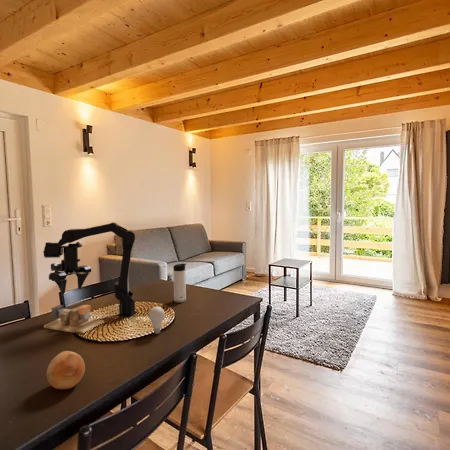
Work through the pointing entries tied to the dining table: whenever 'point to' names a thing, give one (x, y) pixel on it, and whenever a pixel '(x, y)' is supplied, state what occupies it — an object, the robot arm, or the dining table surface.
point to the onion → (65, 370)
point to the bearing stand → (73, 322)
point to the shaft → (60, 309)
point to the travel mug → (179, 283)
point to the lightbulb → (156, 318)
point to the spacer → (84, 309)
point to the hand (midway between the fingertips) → (71, 291)
